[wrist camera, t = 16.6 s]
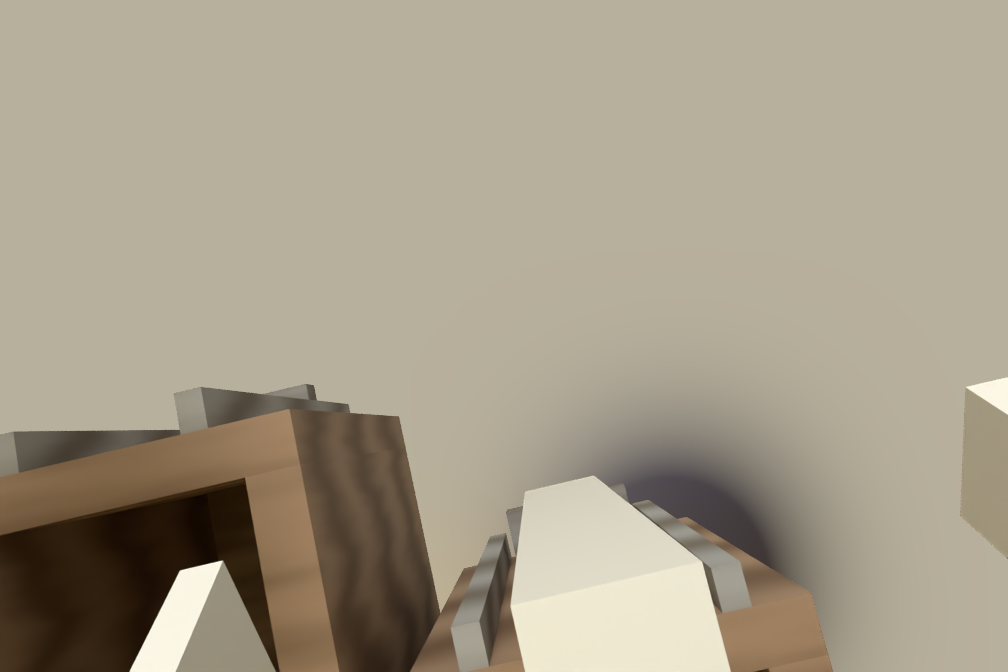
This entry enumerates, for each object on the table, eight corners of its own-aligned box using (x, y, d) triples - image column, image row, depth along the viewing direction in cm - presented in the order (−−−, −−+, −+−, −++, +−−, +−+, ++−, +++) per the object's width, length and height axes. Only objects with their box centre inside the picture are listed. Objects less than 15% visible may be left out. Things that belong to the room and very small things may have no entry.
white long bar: (755, 767, 14) (701, 561, 14) (556, 812, 14) (510, 605, 14) (611, 546, 40) (593, 475, 40) (541, 562, 40) (524, 491, 40)
